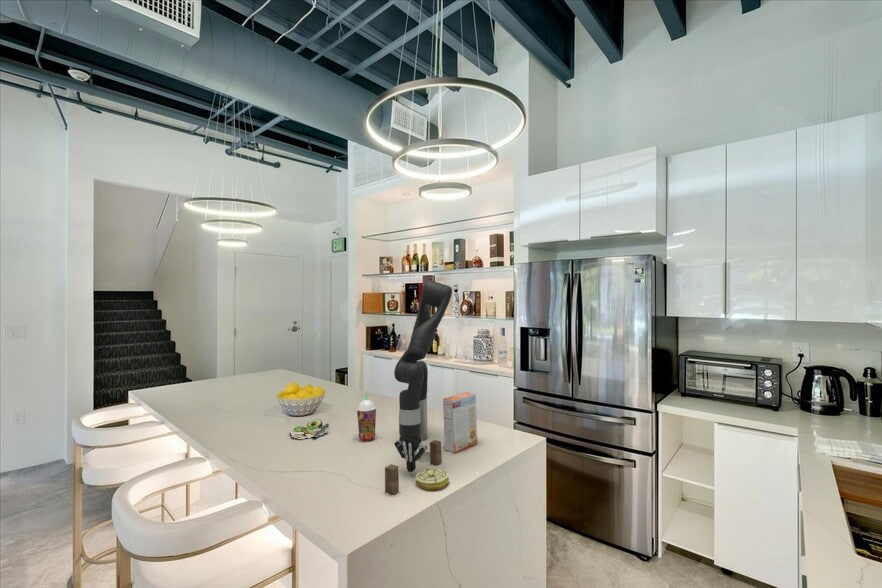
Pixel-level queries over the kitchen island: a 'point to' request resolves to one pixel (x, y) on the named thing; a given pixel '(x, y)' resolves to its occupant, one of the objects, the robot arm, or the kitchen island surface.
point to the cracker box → (460, 422)
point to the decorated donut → (432, 479)
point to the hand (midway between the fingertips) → (411, 471)
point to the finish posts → (392, 470)
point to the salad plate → (313, 428)
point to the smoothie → (366, 419)
